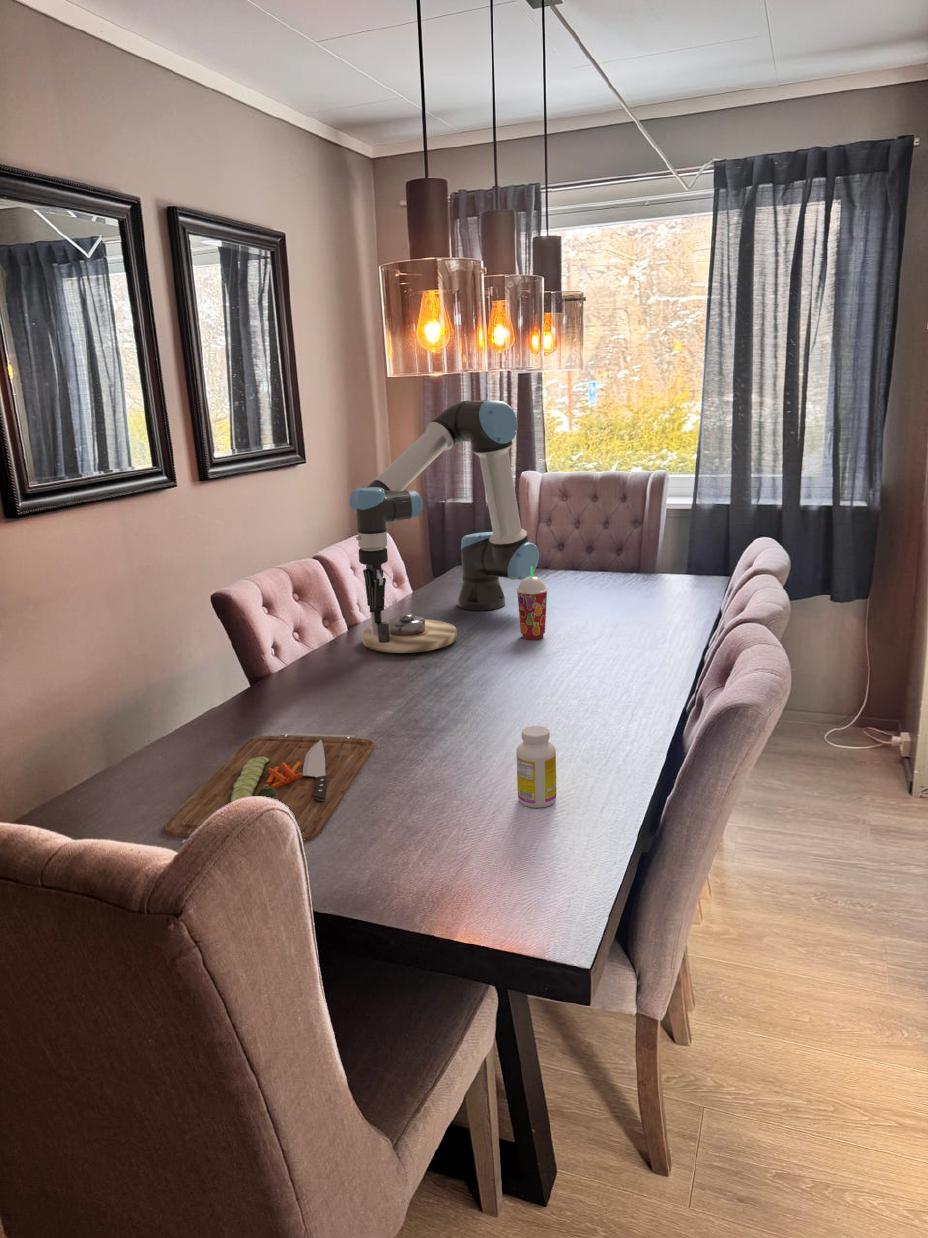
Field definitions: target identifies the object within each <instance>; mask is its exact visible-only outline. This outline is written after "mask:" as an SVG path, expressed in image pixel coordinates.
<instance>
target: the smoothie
mask: <svg viewBox="0 0 928 1238" xmlns="http://www.w3.org/2000/svg"><path fill="white" fill-rule="evenodd" d="M516 591H517V604H518V616H519V617H518V618H519V628H520V634H521V636H522V638H523V639H525V640H528V641H529V640H531V641H532V640H535V641H536V640H540V639H543V637H544V634H545V633H546V620H547V616H546V615H547V602H548V601H547V600H548V599H547V597H548V587H547V586H546V584H545V582H544V581H543V580H542V579H541V578H540V577H538V576H534V572H533V566H531V576H529V577H526V578H525V579H523V580H520V583H519V585H518V587H517V588H516Z"/></svg>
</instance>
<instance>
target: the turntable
mask: <svg viewBox="0 0 928 1238" xmlns="http://www.w3.org/2000/svg"><path fill="white" fill-rule="evenodd" d="M424 619H425V618H424ZM361 634H362V635H361V636H362V638H361V639H362V643H363V646H365V647H366V648H368V649H370V650H374V651H378V652H383V653H384V652H385V653H394V654H395V653H397V654H405V653H408V654H409V653H411V654H412V653H420V652H421V653H422V652H430V651H433V650H438V649H441V648H444V647H447V646H450V645H451V644H453V643H454V642H455V641H456V640H457V637H458V636H457V635H458V634H457V628H456V626H455V625H454V624H451V623H449V622H447V621H446V622H445V621H442V620H436V619H429V618H428V619H425V632H423V633H421V634H418V635H413V636H396V635H392V634H390V633H389V621H382V622H381V623H378V635H372V631H371V626H370V627H368V628H366V629H365V630H363V632H362V633H361Z"/></svg>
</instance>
